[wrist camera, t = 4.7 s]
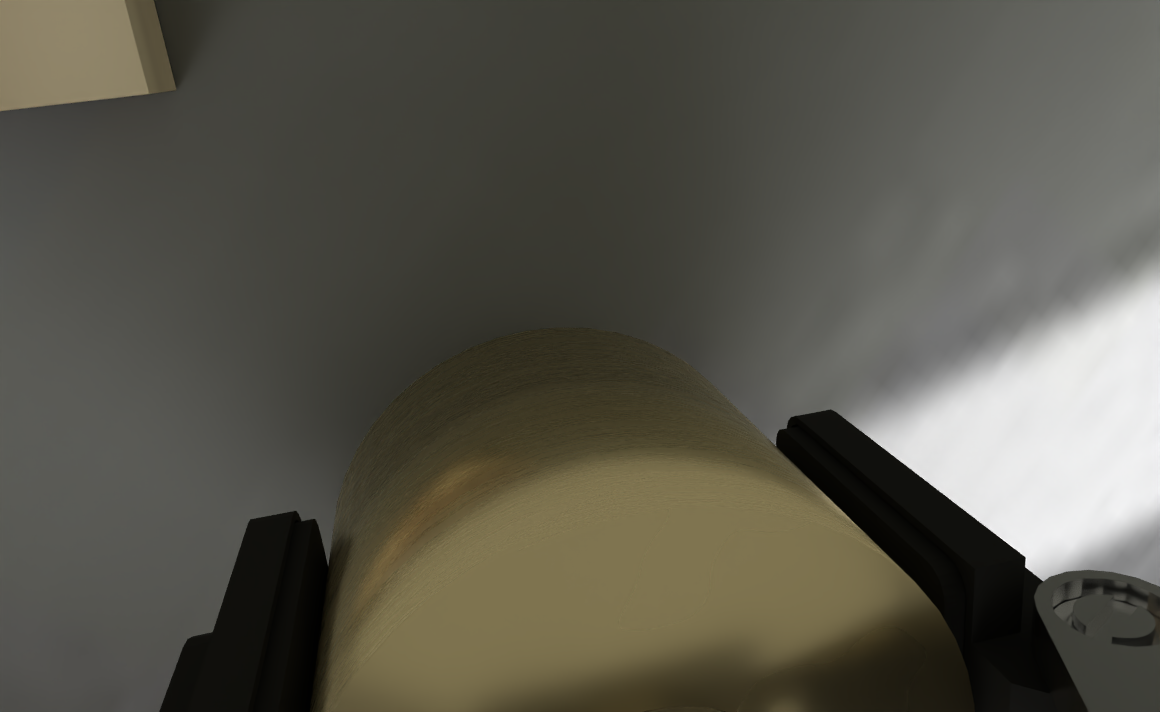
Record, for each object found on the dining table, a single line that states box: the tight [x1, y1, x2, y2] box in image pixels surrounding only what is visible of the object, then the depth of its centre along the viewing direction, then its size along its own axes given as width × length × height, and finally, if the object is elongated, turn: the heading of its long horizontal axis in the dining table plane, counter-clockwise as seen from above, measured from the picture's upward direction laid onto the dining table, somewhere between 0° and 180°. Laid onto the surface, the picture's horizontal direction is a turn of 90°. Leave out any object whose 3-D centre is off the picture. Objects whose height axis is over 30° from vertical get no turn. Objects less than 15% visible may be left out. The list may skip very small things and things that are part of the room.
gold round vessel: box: [309, 328, 975, 712], centre depth 9 cm, size 6×6×6 cm
